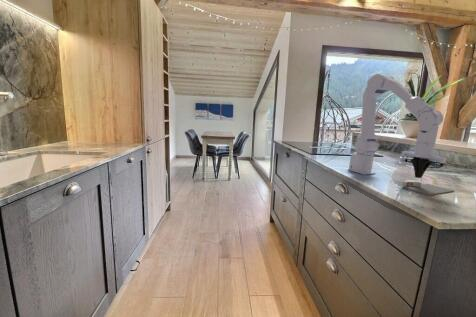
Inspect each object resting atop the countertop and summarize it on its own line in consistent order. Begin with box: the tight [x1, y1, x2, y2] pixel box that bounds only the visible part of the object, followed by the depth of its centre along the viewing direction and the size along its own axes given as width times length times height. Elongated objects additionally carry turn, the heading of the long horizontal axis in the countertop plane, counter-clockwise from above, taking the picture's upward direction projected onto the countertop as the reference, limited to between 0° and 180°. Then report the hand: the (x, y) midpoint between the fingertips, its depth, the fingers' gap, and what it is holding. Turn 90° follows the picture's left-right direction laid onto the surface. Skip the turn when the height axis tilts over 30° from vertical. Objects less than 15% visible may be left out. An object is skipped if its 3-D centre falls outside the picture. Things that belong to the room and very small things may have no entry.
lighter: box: [401, 179, 423, 187], centre depth 94 cm, size 7×2×8 cm
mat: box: [401, 183, 455, 196], centre depth 91 cm, size 9×16×1 cm, turn 114°
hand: (418, 177), depth 94 cm, fingers closed
